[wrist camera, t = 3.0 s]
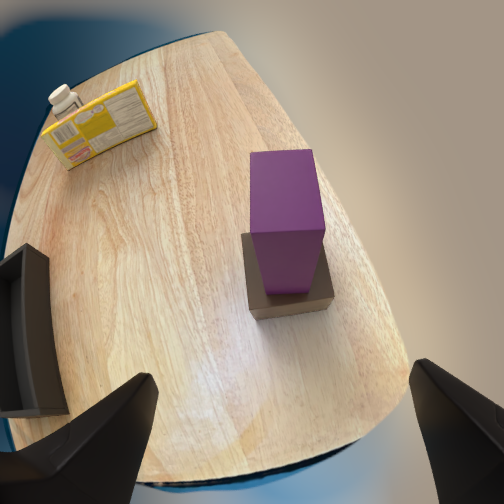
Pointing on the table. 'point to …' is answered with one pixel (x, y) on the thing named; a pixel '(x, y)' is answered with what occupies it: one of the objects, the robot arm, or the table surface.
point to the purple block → (285, 219)
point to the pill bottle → (64, 102)
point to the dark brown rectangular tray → (27, 339)
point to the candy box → (100, 125)
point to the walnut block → (284, 303)
